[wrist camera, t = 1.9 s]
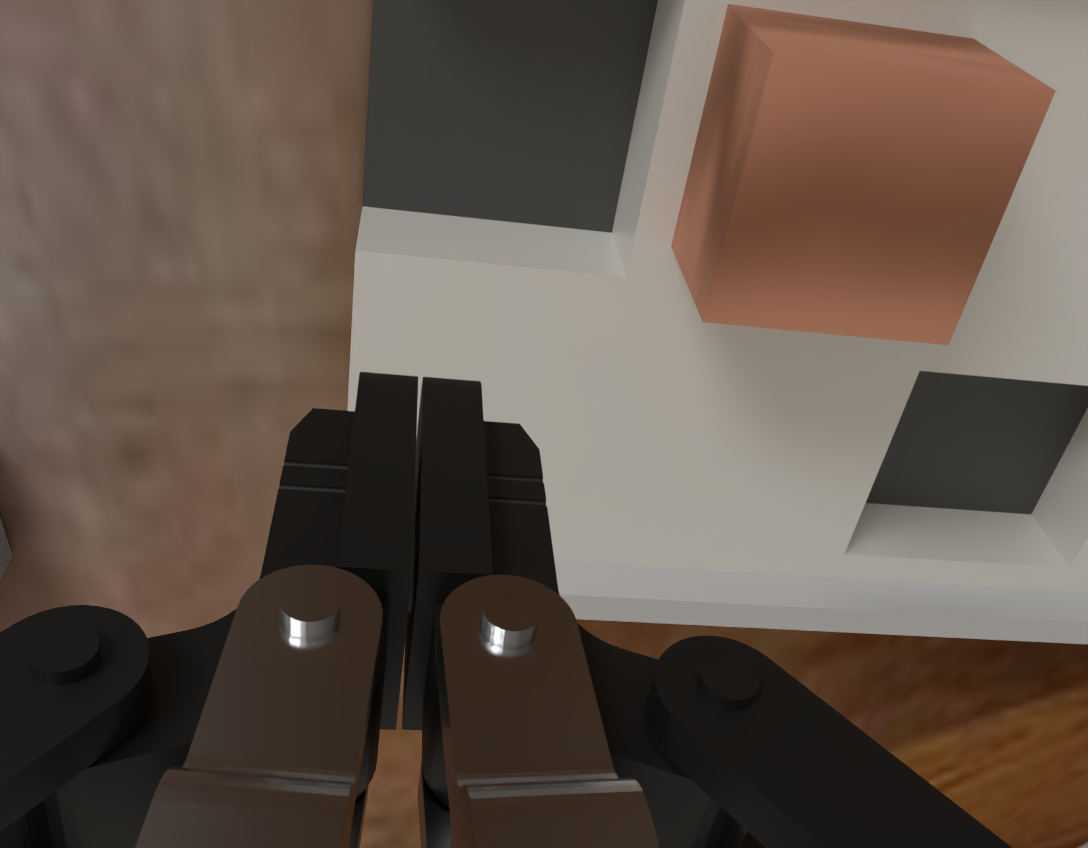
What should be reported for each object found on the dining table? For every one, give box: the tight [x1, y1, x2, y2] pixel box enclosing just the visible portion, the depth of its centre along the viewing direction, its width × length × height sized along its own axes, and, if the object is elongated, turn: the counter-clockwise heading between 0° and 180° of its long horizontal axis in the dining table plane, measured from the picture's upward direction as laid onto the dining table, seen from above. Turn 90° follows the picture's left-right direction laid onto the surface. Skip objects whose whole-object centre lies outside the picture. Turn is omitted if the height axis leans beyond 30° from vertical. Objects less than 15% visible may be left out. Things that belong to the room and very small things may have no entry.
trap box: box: [348, 0, 1088, 644], centre depth 29 cm, size 22×34×6 cm, turn 82°
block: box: [671, 4, 1056, 345], centre depth 24 cm, size 6×6×4 cm
